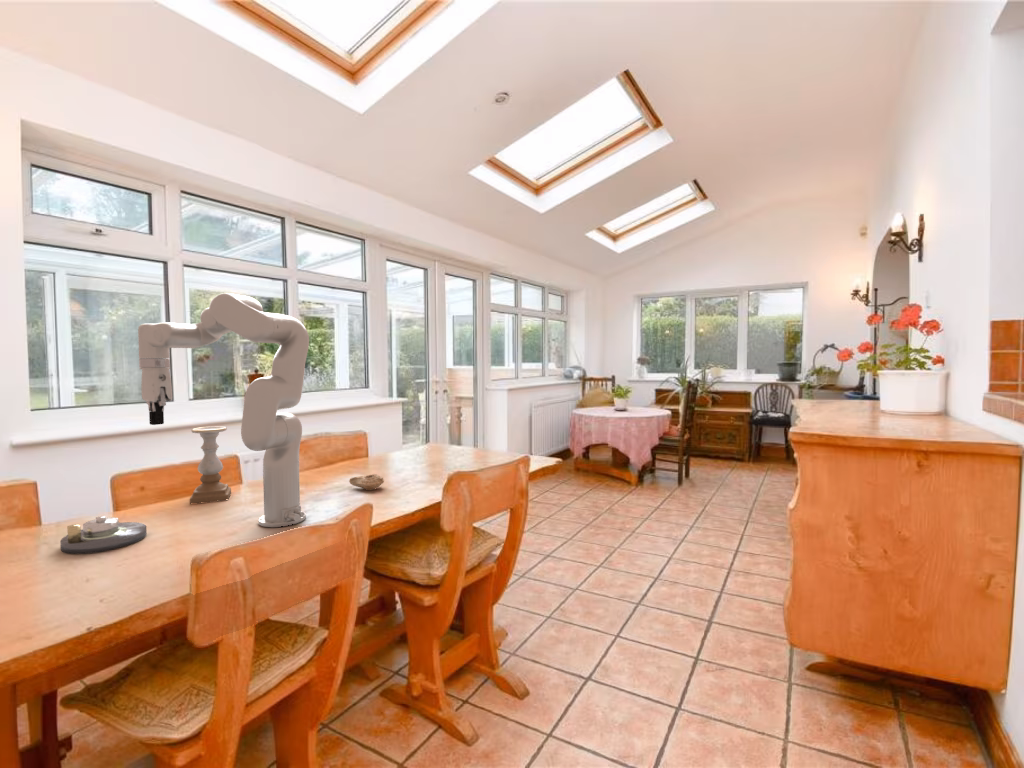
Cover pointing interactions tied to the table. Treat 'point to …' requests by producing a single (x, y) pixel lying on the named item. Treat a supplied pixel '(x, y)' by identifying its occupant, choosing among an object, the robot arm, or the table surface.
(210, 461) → the candle holder
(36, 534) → the table surface
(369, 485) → the pottery oil lamp
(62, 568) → the table surface
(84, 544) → the turntable
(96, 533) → the cover
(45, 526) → the table surface
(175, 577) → the table surface
